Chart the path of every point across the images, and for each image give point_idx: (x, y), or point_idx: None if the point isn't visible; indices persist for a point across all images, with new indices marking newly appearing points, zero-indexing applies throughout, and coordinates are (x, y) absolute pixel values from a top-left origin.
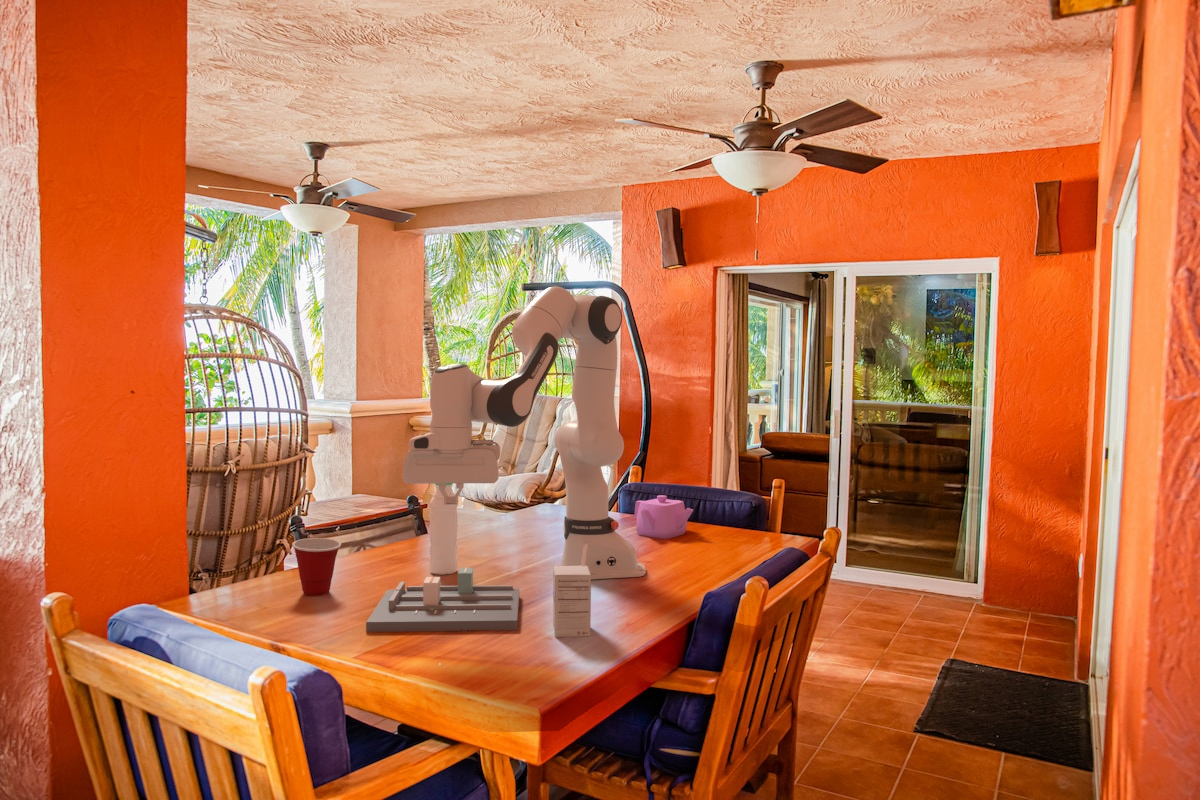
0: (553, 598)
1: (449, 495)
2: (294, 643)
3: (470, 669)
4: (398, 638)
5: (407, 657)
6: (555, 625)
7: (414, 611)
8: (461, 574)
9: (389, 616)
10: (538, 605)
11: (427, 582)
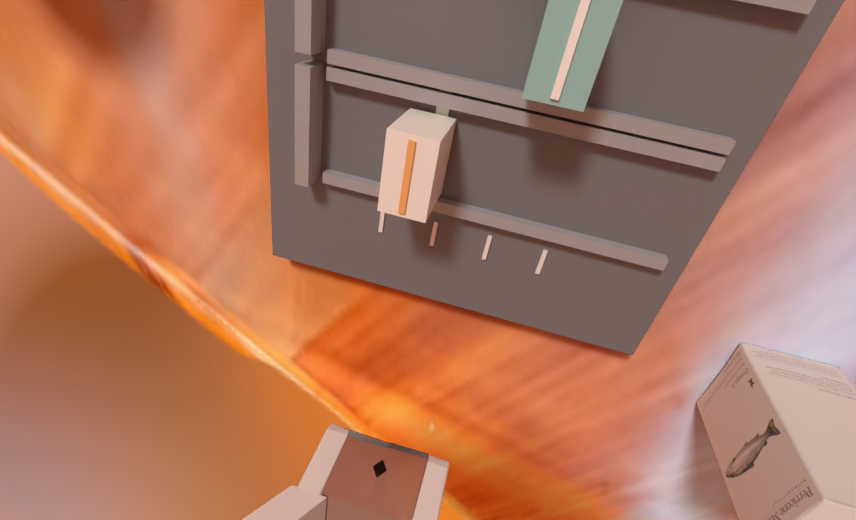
0: (746, 444)
1: (344, 510)
2: (170, 265)
3: (476, 460)
4: (356, 300)
5: (379, 389)
6: (705, 424)
7: (377, 207)
8: (537, 101)
9: (318, 231)
10: (826, 144)
11: (390, 208)
